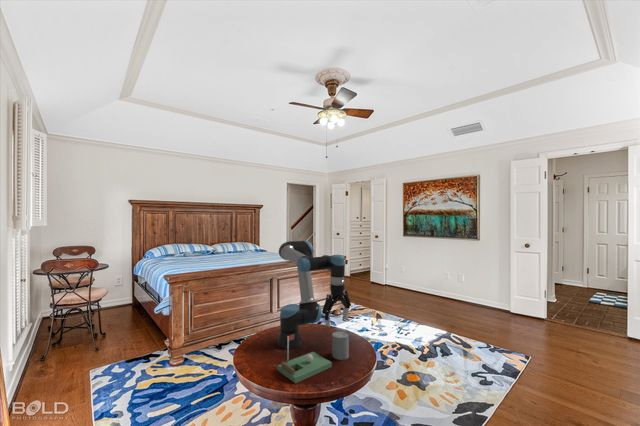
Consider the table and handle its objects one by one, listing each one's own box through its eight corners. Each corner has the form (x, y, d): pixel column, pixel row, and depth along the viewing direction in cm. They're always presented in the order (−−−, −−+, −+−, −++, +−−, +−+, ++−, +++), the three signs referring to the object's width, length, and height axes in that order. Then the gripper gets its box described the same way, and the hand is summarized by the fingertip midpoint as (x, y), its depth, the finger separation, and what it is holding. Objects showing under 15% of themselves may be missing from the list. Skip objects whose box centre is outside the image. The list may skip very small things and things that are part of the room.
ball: (304, 361, 163) (304, 354, 163) (309, 359, 166) (309, 352, 166) (308, 364, 160) (308, 357, 160) (314, 362, 163) (314, 354, 163)
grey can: (347, 360, 170) (348, 338, 170) (330, 358, 172) (331, 337, 172) (349, 352, 179) (349, 331, 179) (333, 351, 181) (333, 330, 181)
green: (277, 370, 159) (277, 338, 159) (312, 355, 175) (313, 327, 175) (295, 383, 147) (295, 349, 147) (331, 366, 163) (331, 336, 163)
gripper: (325, 289, 154) (324, 330, 154) (357, 281, 171) (356, 318, 171) (315, 286, 159) (315, 326, 160) (347, 278, 176) (347, 315, 177)
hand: (336, 322), depth 166 cm, fingers open, 13 cm apart
